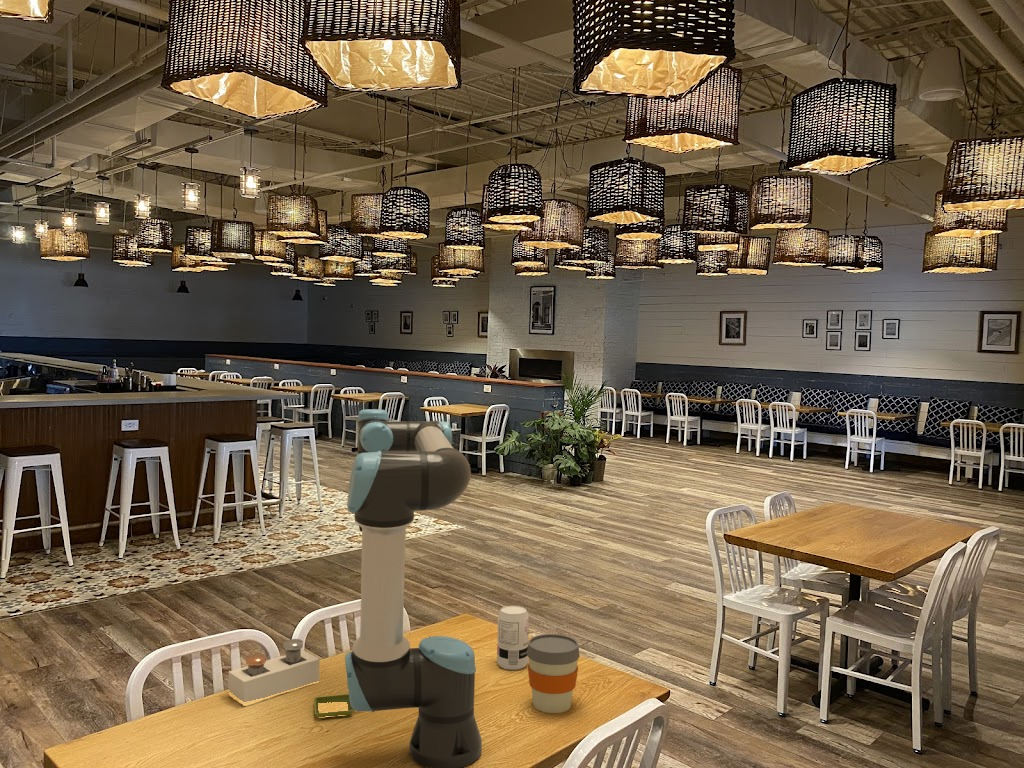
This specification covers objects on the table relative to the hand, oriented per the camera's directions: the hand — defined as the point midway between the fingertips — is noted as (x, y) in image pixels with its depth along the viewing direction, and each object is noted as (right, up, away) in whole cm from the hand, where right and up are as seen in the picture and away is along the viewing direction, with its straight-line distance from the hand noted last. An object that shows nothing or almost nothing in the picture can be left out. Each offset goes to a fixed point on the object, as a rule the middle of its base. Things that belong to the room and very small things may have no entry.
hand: (371, 560), depth 205 cm
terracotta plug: (-26, -29, -13) cm, 40 cm away
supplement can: (+36, -30, +8) cm, 48 cm away
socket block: (-22, -30, -9) cm, 38 cm away
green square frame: (-5, -31, -20) cm, 37 cm away
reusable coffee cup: (+46, -31, -15) cm, 57 cm away
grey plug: (-18, -27, -6) cm, 33 cm away
